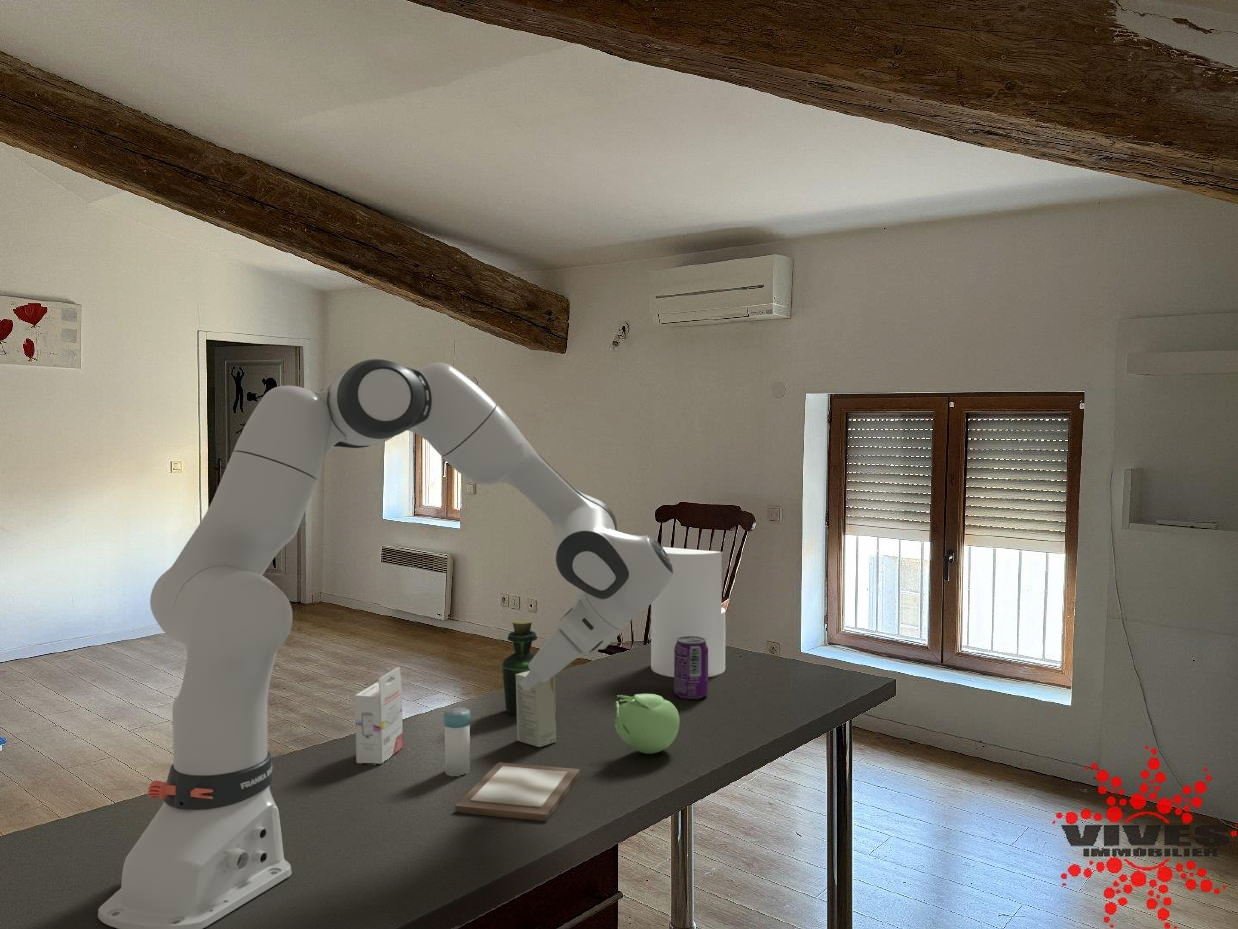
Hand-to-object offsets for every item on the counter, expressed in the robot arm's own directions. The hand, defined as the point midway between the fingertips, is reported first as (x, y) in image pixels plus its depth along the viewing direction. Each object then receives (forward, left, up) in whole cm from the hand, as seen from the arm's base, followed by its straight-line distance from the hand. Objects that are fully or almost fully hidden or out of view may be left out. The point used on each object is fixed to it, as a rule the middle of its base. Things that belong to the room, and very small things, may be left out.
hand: (533, 679), depth 149 cm
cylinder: (+73, -14, -16) cm, 76 cm away
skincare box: (+17, +5, -16) cm, 24 cm away
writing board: (-6, 0, -16) cm, 17 cm away
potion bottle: (+33, +13, -16) cm, 39 cm away
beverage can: (+51, -18, -16) cm, 57 cm away
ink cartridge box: (+4, +29, -16) cm, 34 cm away
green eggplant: (+15, -15, -16) cm, 27 cm away
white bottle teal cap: (0, +13, -16) cm, 21 cm away
